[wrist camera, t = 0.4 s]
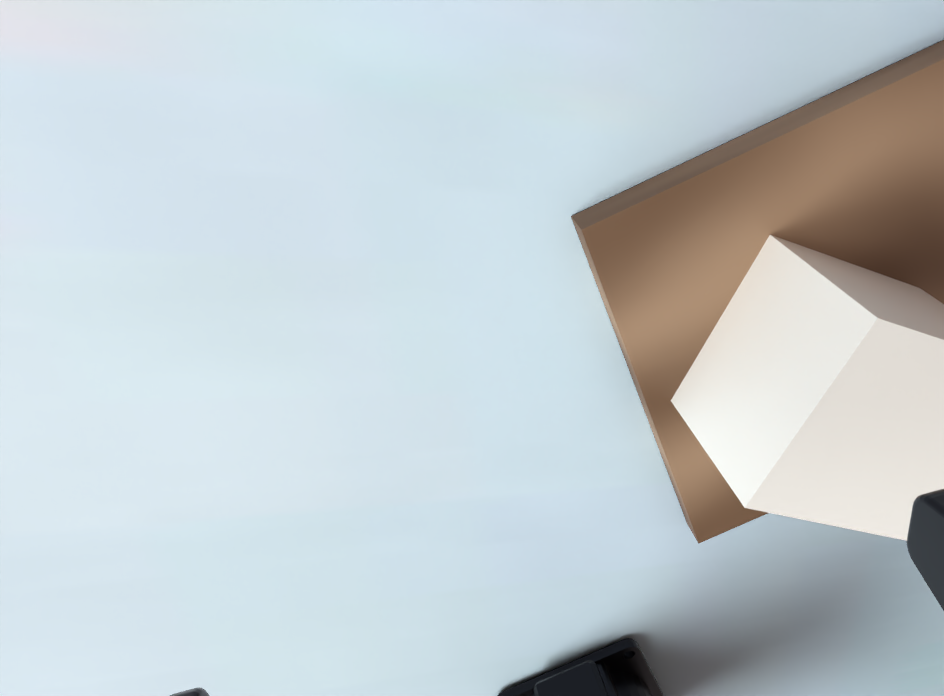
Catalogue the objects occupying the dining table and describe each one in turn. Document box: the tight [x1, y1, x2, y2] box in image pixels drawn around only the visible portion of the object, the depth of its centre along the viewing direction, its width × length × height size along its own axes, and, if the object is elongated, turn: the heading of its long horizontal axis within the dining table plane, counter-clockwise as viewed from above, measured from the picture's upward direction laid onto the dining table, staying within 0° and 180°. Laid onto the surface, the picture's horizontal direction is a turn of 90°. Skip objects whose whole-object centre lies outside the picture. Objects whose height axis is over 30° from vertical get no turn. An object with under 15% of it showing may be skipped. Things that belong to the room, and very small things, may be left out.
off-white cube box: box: [671, 235, 944, 541], centre depth 22 cm, size 6×6×5 cm
